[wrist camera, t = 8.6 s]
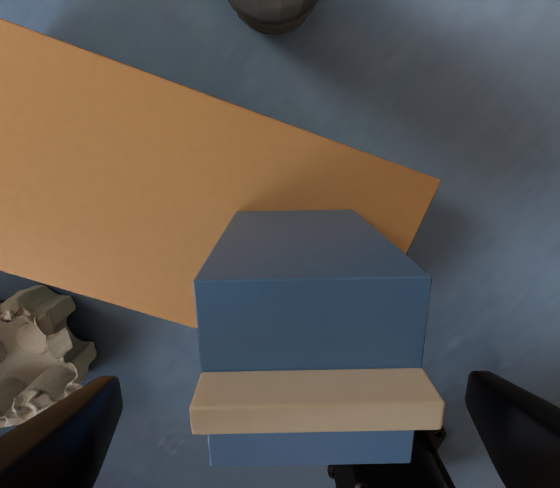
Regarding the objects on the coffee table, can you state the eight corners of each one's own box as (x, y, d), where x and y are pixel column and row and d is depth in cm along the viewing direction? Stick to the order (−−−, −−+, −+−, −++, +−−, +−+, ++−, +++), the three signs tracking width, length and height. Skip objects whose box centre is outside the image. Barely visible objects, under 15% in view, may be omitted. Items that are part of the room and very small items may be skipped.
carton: (353, 209, 15) (462, 301, 6) (348, 315, 16) (431, 511, 8) (235, 211, 15) (176, 306, 6) (241, 317, 16) (199, 517, 8)
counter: (404, 172, 19) (441, 180, 15) (335, 328, 22) (350, 374, 17) (33, 37, 17) (-50, -1, 13) (9, 228, 20) (-66, 251, 15)
